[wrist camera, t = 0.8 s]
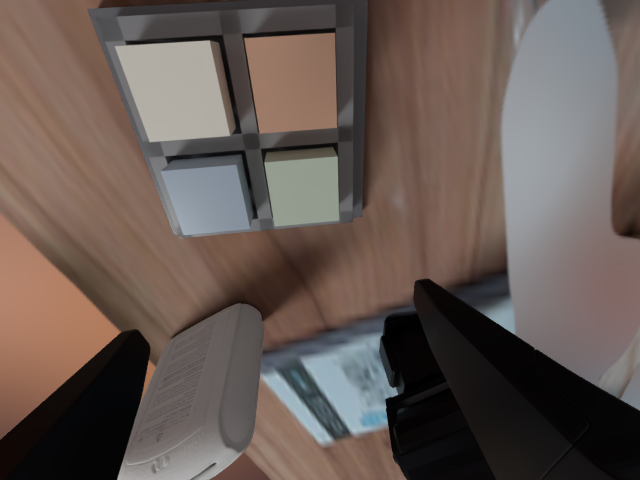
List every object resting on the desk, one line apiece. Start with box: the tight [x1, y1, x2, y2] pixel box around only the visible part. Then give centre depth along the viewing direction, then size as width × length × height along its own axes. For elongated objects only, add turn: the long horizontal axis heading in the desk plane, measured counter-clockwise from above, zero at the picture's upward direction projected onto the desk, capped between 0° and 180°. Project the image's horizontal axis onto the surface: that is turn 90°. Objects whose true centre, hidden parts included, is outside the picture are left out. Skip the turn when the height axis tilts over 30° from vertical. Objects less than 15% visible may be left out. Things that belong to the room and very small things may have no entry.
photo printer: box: [117, 303, 264, 480], centre depth 23 cm, size 10×4×12 cm, turn 122°
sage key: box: [264, 147, 339, 227], centre depth 17 cm, size 4×4×2 cm
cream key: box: [115, 40, 236, 142], centre depth 14 cm, size 4×4×2 cm
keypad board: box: [87, 0, 368, 238], centre depth 18 cm, size 14×13×2 cm
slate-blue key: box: [160, 155, 253, 235], centre depth 17 cm, size 4×4×2 cm
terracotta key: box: [244, 33, 337, 134], centre depth 15 cm, size 4×4×2 cm
